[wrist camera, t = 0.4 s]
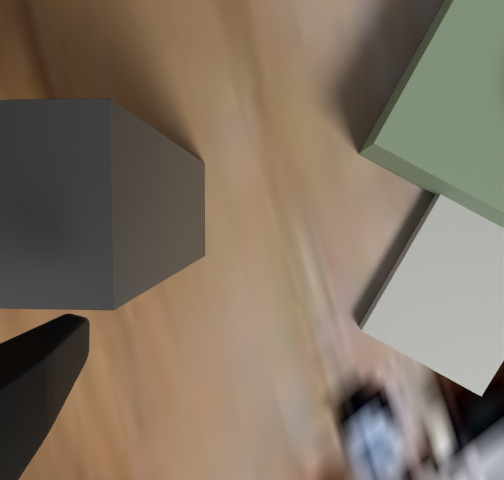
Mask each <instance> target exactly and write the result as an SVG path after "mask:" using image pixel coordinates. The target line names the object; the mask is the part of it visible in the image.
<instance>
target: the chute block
mask: <svg viewBox="0 0 504 480" xmlns="http://www.w3.org/2000/svg"><path fill="white" fill-rule="evenodd" d="M204 256H205V163H204V162H202V161H201V160H199V159H198V158H196V157H195V156H193V155H192V154H191V153H189V152H188V151H186V150H185V149H183V148H182V147H180V146H179V145H177V144H176V143H174V142H173V141H172V140H170V139H169V138H167V137H166V136H164V135H163V134H161V133H160V132H158V131H157V130H155V129H154V128H152V127H151V126H150V125H148V124H147V123H145V122H144V121H142V120H141V119H139V118H138V117H136V116H135V115H133V114H132V113H131V112H129V111H128V110H126V109H125V108H123V107H122V106H120V105H119V104H117V103H116V102H114V101H113V100H112V99H110V98H103V99H26V100H0V308H7V309H67V310H115V309H117V308H118V307H120V306H122V305H123V304H125V303H127V302H128V301H130V300H132V299H133V298H135V297H137V296H139V295H140V294H142V293H144V292H145V291H147V290H149V289H150V288H152V287H154V286H155V285H157V284H159V283H160V282H162V281H164V280H165V279H167V278H169V277H170V276H172V275H174V274H175V273H177V272H179V271H180V270H182V269H184V268H185V267H187V266H189V265H190V264H192V263H194V262H195V261H197V260H199V259H200V258H202V257H204Z"/></svg>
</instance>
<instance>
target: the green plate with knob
mask: <svg viewBox="0 0 504 480" xmlns="http://www.w3.org/2000/svg"><path fill="white" fill-rule="evenodd" d="M359 155H361V156H363V157H365V158H367V159H369V160H370V161H372V162H374V163H376V164H378V165H380V166H382V167H384V168H385V169H387V170H389V171H391V172H393V173H395V174H397V175H398V176H400V177H402V178H404V179H406V180H408V181H410V182H411V183H413V184H415V185H417V186H419V187H421V188H423V189H424V190H426V191H428V192H430V193H432V194H434V197H433V199H432V201H431V202H430V204H429V206H428V208H427V209H426V211H425V213H424V214H423V216H422V218H421V220H420V221H419V223H418V225H417V227H416V228H415V230H414V232H413V233H412V235H411V237H410V239H409V240H408V242H407V244H406V246H405V247H404V249H403V251H402V252H401V254H400V256H399V258H398V259H397V261H396V263H395V265H394V266H393V268H392V270H391V271H390V273H389V275H388V277H387V278H386V280H385V282H384V284H383V285H382V287H381V289H380V290H379V292H378V294H377V296H376V297H375V299H374V301H373V303H372V304H371V306H370V308H369V309H368V311H367V313H366V315H365V316H364V318H363V320H362V322H361V323H360V325H359V328H360V329H361V331H363V332H365V333H367V334H368V335H370V336H372V337H374V338H376V339H378V340H379V341H381V342H383V343H385V344H387V345H389V346H390V347H392V348H394V349H396V350H398V351H400V352H401V353H403V354H405V355H407V356H409V357H410V358H412V359H414V360H416V361H418V362H420V363H421V364H423V365H425V366H427V367H429V368H431V369H432V370H434V371H436V372H438V373H440V374H442V375H443V376H445V377H447V378H449V379H451V380H452V381H454V382H456V383H458V384H460V385H462V386H463V387H465V388H467V389H469V390H471V391H473V392H474V393H476V394H478V395H480V396H482V394H483V393H484V391H485V390H486V388H487V386H488V385H489V383H490V381H491V380H492V378H493V377H494V375H495V373H496V372H497V370H498V369H499V367H500V365H501V364H502V362H503V360H504V0H444V2H443V4H442V5H441V7H440V9H439V11H438V13H437V14H436V16H435V18H434V20H433V22H432V23H431V25H430V27H429V29H428V31H427V32H426V34H425V36H424V38H423V40H422V41H421V43H420V45H419V47H418V48H417V50H416V52H415V54H414V56H413V57H412V59H411V61H410V63H409V65H408V66H407V68H406V70H405V72H404V74H403V75H402V77H401V79H400V81H399V83H398V84H397V86H396V88H395V90H394V92H393V93H392V95H391V97H390V99H389V101H388V102H387V104H386V106H385V108H384V110H383V111H382V113H381V115H380V117H379V119H378V120H377V122H376V124H375V126H374V127H373V129H372V131H371V133H370V135H369V136H368V138H367V140H366V142H365V144H364V145H363V147H362V149H361V151H360V153H359Z"/></svg>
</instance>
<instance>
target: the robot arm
mask: <svg viewBox="0 0 504 480" xmlns="http://www.w3.org/2000/svg"><path fill="white" fill-rule="evenodd" d="M89 326H90V325H89V320H88V319H87V318H85V317H82V316H78V315H74V314H65V315H62V316H60V317H58V318H56V319H53V320H51V321H49V322H47V323H45V324H42V325H40V326H38V327H36V328H34V329H31V330H29V331H27V332H25V333H23V334H21V335H18V336H16V337H14V338H12V339H10V340H7V341H5V342H3V343H1V344H0V480H18V479H19V478H20V476H21V475H22V473H23V472H24V470H25V469H26V467H27V466H28V464H29V463H30V461H31V460H32V458H33V456H34V455H35V453H36V452H37V450H38V449H39V447H40V446H41V444H42V443H43V441H44V439H45V438H46V436H47V435H48V433H49V431H50V429H51V427H52V426H53V424H54V422H55V420H56V418H57V416H58V414H59V412H60V410H61V409H62V407H63V405H64V403H65V401H66V399H67V397H68V395H69V393H70V391H71V389H72V387H73V385H74V383H75V381H76V380H77V378H78V376H79V374H80V372H81V370H82V368H83V366H84V364H85V362H86V360H87V357H88V353H89Z"/></svg>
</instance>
